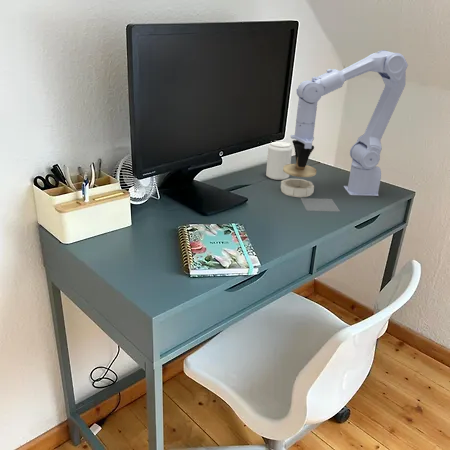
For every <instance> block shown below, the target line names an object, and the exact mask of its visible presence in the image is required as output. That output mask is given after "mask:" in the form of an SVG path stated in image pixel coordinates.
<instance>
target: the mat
mask: <svg viewBox="0 0 450 450" xmlns="http://www.w3.org/2000/svg"><path fill="white" fill-rule="evenodd" d="M299 198H300V201H301V202H302V204H303V206H304V209H305V211H306V212H341V210H340V209H339V208H338V206H337V205H336V203H335V202H334V199H332V198H309V197H308V198H307V197H299Z"/></svg>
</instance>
